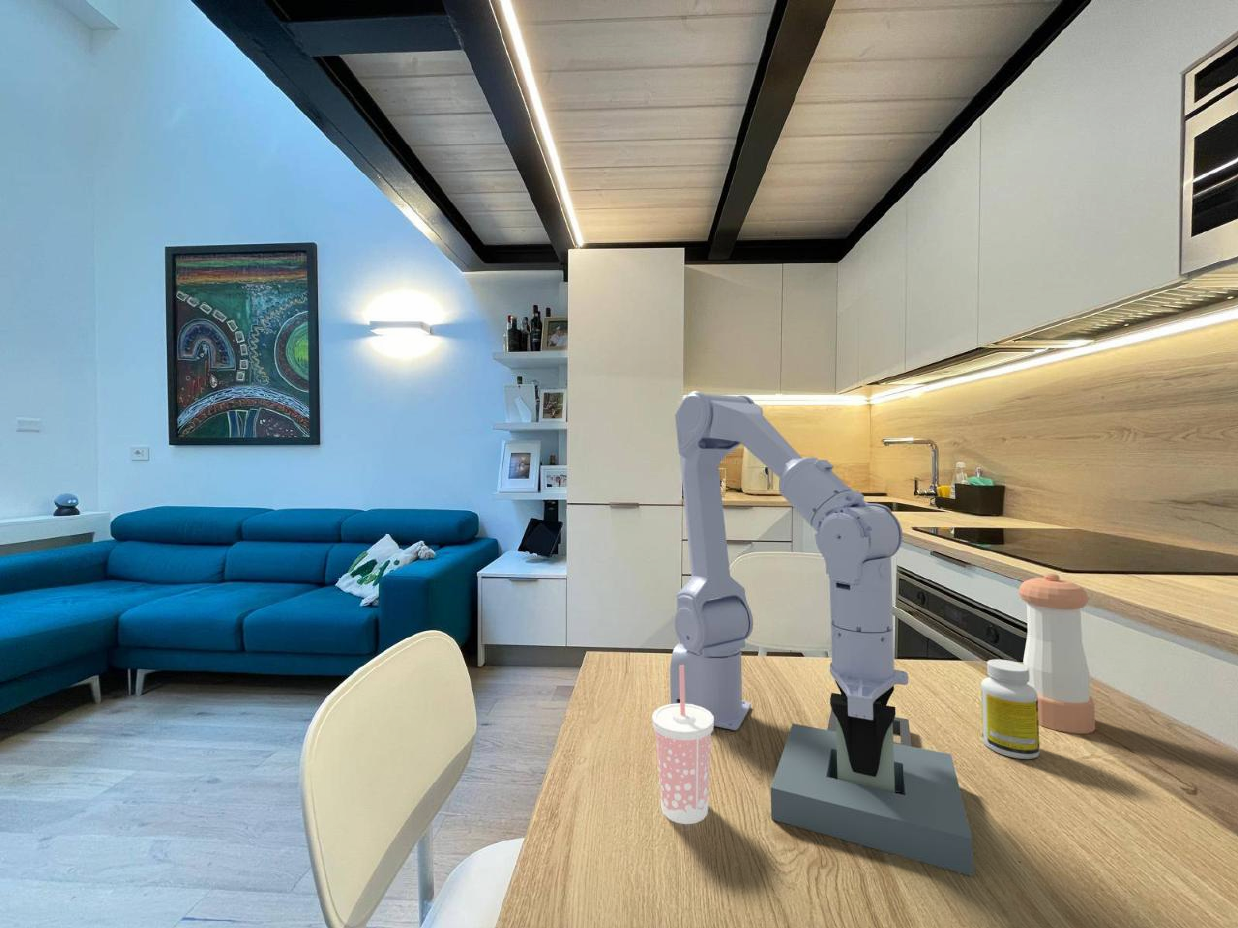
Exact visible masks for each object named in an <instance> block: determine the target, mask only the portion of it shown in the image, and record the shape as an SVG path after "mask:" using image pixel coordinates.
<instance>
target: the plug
mask: <svg viewBox="0 0 1238 928" xmlns="http://www.w3.org/2000/svg"><path fill="white" fill-rule="evenodd" d="M875 704H880V705H881V702H878V701H875ZM836 739H837V775H838V778H837V779H838V780H842V781H846V782H851V783H855V784H859V785H863V786H868V787H872V788H876V789H880V790H885V791H889V792H893V793H896V791H895V782H894V749H893V742H894V732H893V722H892V724H891V725H890V727H889V728H888V730H887V732H886V735H885V738H884V741H883V746H882V751H881V758H880V764H879V769H878V773H877V775H876V777H872V776H868V775H863V774H859V773H855V772H853V770H852V767H851V764H850V761H849V756H848V752H847V747H846V743H845V738H844V735H843V731H842V729H841V726H840V724H839V722H838V720H837V718H836Z"/></svg>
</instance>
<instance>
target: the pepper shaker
mask: <svg viewBox="0 0 1238 928" xmlns="http://www.w3.org/2000/svg"><path fill="white" fill-rule="evenodd" d="M1018 594H1019V596H1020V598H1021V599H1022V601H1024V602H1025V603H1026V616H1027V617H1026V620H1027V621H1026V623H1027V626H1026V627H1027V635H1026V642H1025V649H1024V654H1023V660H1022V661H1023V665H1025V666H1027V667H1028V668H1029V676H1030V679H1029V682H1027V684H1028V685H1030V686H1031V687H1033V688H1034V690H1035V691H1036V693H1037V697H1038V721H1039V722H1038V723H1039V726H1041V727H1044V728H1048V729H1051V730H1055V731H1059V732H1062V733H1069V734H1076V735H1077V734H1089V733H1093V732H1094V731H1095V730H1096V720H1095V719H1096V714H1095V702H1094V699H1093V698H1092V697H1091V696H1090V695H1091V693H1090V689H1091V687H1090V679H1091V677H1090V675H1091V673H1090V669H1089V666H1088V661H1087V656H1086V653H1085V649H1084V644H1083V633H1082V631H1083V630H1082V614H1081V609H1083V608H1086V606H1087V605H1088V602H1089V599H1090V598H1089V597H1088V594H1087V592H1086V591H1085V589H1084V588H1083V587H1082V586H1081V585H1079V584H1077V583H1074V582H1072V581H1070V580H1066V579H1061V578H1060V576H1059V575H1058V574H1056V573H1053V572H1048V573H1044V575H1043V577H1033V578H1031V579H1027V580H1025V581H1023V582H1022V583H1021V584H1020V586H1019V590H1018Z"/></svg>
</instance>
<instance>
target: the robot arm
mask: <svg viewBox="0 0 1238 928" xmlns="http://www.w3.org/2000/svg"><path fill="white" fill-rule="evenodd" d="M674 415H675V416H674V418H675V427H676V428H675V429H676V438H677V449H678V450H677V451H678V454H679V463H680V464H679V465H680V473H681V482H682V483H681V484H682V494H683V503H684V505H683V507H684V513H685V515H684V516H685V523H686V524H685V525H686V533H687V534H686V535H687V536H686V537H687V544H688V553H689V554H688V555H689V557H688V558H689V565H690V567H689V568H690V574H691V578H690V579H689V580H688V582H686V583H685V585H684V586H683V587H682V588H681V589H680V590H679V591H678V593H677V594H676V604H677V605H676V606H677V607H676V612H675V617H674V629H675V633H676V636H677V638H678V640H679V642H680V643H677V644H676V645H675V647H674V649H673V651H672V654H671V658H670V668H669V675H670V676H669V678H670V679H669V681H670V683H669V685H670V687H669V688H670V704H676V703H680V669H679V665H684V681H685V704H693V705H697V706H700V707H703V708H705V709H706V710H708V711H710V712H711V714H712V715H713V716H714V723H713V724H714V726H713V727H719V728H722V729H727V730H732V731H738V730H739V728H740V726H741V725H742V723H743V721H744V719H745V717H746V716H747V714H748V713H749V711H750V709H751V703H750V702H748V701H744V700H743V685H742V682H743V681H742V679H743V678H742V675H743V673H742V649H743V648H745V647H746V641H745V640H747V639H748V638H749V637H751V634H752V633H753V629H754V620H753V619H754V617H753V613H752V610H751V608H750V606H749V603H748V601H747V596H746V589H745V588H744V587H743V585H741V584H740V583H739V582H738V581H737V580H735V579H734V578H733V577H732V576H731V570H730V563H729V551H728V542H727V541H728V540H727V532H726V523H725V514H724V505H723V495H722V486H721V477H720V470H719V469H720V467H719V466H720V464H721V463H722V461H723V460H724V459H725V457H726V456H728V455H730V454H731V453H733V451H735V450H737V448H738V447H739V446H741V445H742V446H743V447H745V448H746V449H747V450H748V451H749V452H750V453H752V455H753V456H754V457H756V458H757V459H758V460H759V462H761V463H762V464H763V465H764V466H766V467H767V468H768V469H769V470H770V471H771V472H772V473H773V474H774V475H776V476H777V477H778V479H779V480H778V490H779V493H780V495H781V496H782V497H784V499H785V500H786V501H787V502H788V503H789V504H790V505H791V507H792V508H794V510H795V511H796V512H797V513H799V515H800V516H801V517H802V518H803V519H804V520H805V521H806V522H807V524H808V525H809V526H811V528H812V529H814V531H815V533H814V538H815V543H816V547H817V549H818V550H819V551H818V552H819V553H820V554H821V555H822V557H823V558H824V562H825V573H826V575H828V578H829V602H830V603H829V604H830V609H829V610H830V639H831V642H830V644H831V645H830V646H831V647H830V648H831V649H830V650H831V662H830V664H829V673H830V675H831V677H832V678H833V679H834V683H835V684H836V686H837V688H838V690H839V692H840V694H839V693H835V692H830V697H829V705H830V709H831V708H832V711H833V713H834V714H835V716H836V718H837V720H838V722H839V724H840V726H841V729H842V731H843V735H844V738H845V743H846V747H847V752H848V756H849V761H850V764H851V767H852V770H853V772H855V773H859V774H863V775H868V776H872V777H876V775H877V773H878V769H879V764H880V758H881V751H882V746H883V741H884V738H885V735H886V732H887V730H888V728H889V727H890V725H891V724H892V722H893V720H894V718H895V717H896V714H897V713H896V706H892V705H888V702H889V699H890V698H891V696H892V695H893V693H894V691H895V685H903V686H905V685H906V686H907V685H908V684H909V675H908V674H909V673H907V672H906V671H903V670H899V669H895V653H894V652H895V651H894V617H893V616H894V615H893V613H894V612H893V583H892V557H893V556H895V555H896V554H897V552H898V551H899V550H900V548H901V546H902V542H903V537H904V536H903V528H902V526H901V523H900V522H899V519H898V518H897V516H896V515H895V514H893V512H892V510H891V509H890V508H889V507H888V506H886V505H884V504H879V503H870V502H868V501H865V496H864V494H862V493H861V492H860V491H859V490H853V489H852V488H851V487H850V486H849V485H848V484H847V483H846V482H844V481H843V480H842V479H841V478H840V477H839V476H838V474H836V473H835V472H834V471H833V469H834V465H833V464H832V463H831V462H830V461H828V460H827V459H819V458H817V457H814V456H813V457H812V456H811V457H810V456H809V457H804V458H803V457H802V456H801V455H800V454H799V452H797V450H795V448H793V446H792V445H791V444H790V443H789V442H788V441H787V440H786V439H785V438H784V436H782V434H781V433H780V432H779V431H778V430H777V429H776V427H774V426H773V425H772V423H771V422H770V421H768V419H767V418H766V417H765V416H764V410H763V407H762V406H760V405H758V404H757V403H755V401H754V400H753V399H752V398H750V396H746V395H738V396H737V395H726V394H725V395H724V394H717V393H715V394H714V393H704V392H700V391H697V390H696V391H691V392H689V393H688V394H687V395H686V396H685V397H684V398H683V400H682V401H681V403H680V405H679V407H678V409H677V411H676V412H675V414H674ZM875 701H878V702H881V705H880V704H875Z"/></svg>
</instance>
